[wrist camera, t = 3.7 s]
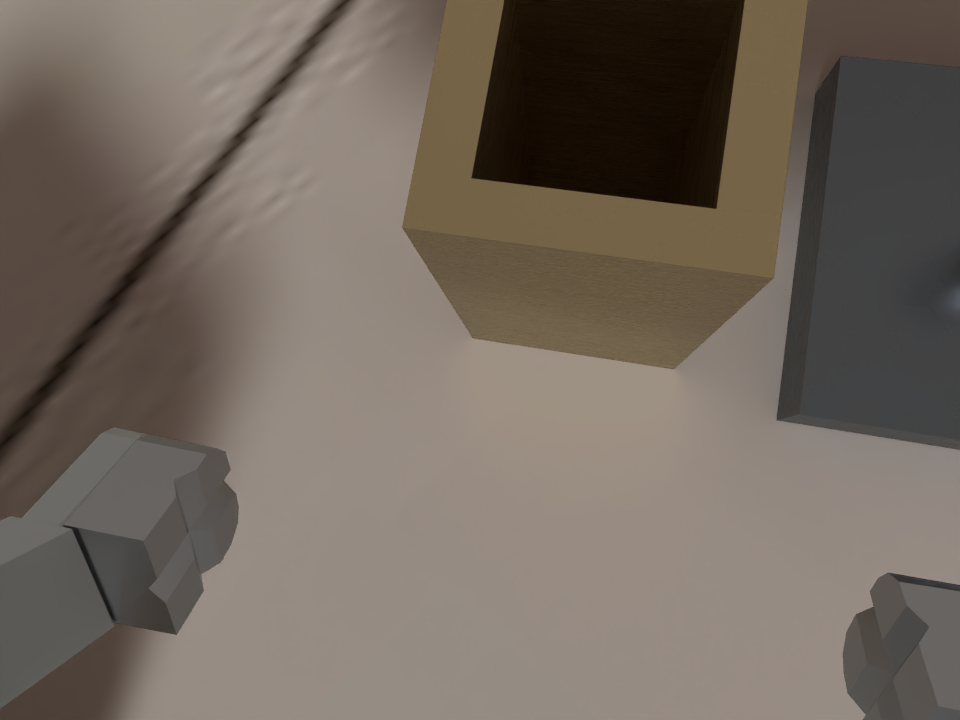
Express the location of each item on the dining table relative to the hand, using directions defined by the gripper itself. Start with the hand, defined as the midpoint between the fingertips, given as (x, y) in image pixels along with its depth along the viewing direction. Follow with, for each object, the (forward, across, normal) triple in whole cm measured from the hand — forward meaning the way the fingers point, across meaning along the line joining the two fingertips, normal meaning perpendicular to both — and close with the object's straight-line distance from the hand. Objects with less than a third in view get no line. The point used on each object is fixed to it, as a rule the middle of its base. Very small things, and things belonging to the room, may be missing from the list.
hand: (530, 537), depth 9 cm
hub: (+14, -11, +2) cm, 18 cm away
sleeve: (+14, 0, +3) cm, 14 cm away
